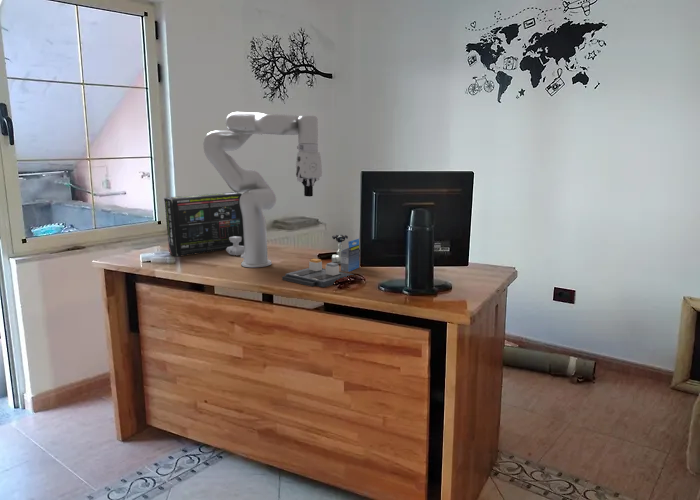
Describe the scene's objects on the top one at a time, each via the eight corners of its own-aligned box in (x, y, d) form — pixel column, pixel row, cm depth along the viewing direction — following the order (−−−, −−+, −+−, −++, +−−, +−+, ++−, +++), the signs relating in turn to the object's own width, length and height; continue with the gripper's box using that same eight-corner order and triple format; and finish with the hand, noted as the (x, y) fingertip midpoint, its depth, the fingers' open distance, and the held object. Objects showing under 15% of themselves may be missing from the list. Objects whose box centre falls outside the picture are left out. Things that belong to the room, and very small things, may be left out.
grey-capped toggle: (325, 274, 209) (325, 263, 208) (331, 272, 211) (331, 262, 210) (333, 275, 206) (333, 265, 205) (339, 274, 208) (339, 263, 207)
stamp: (234, 257, 252) (233, 238, 250) (224, 255, 256) (223, 237, 254) (248, 253, 259) (247, 236, 258) (238, 252, 263) (237, 234, 261)
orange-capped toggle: (309, 269, 216) (309, 259, 215) (314, 268, 218) (314, 258, 217) (316, 271, 213) (316, 260, 213) (322, 269, 216) (321, 259, 215)
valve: (346, 266, 232) (346, 237, 229) (331, 265, 233) (330, 237, 231) (349, 262, 238) (349, 234, 236) (334, 262, 239) (334, 234, 237)
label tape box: (351, 266, 230) (351, 237, 228) (360, 267, 228) (360, 238, 226) (340, 271, 223) (339, 240, 220) (349, 272, 220) (348, 241, 218)
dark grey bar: (282, 279, 210) (282, 276, 210) (284, 279, 211) (284, 275, 211) (312, 286, 200) (312, 283, 199) (315, 285, 201) (314, 282, 200)
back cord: (317, 271, 223) (317, 268, 222) (320, 270, 224) (320, 267, 223) (351, 278, 211) (351, 275, 211) (354, 277, 212) (354, 274, 212)
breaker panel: (285, 278, 211) (285, 273, 211) (311, 272, 221) (311, 266, 221) (323, 287, 198) (323, 281, 198) (349, 279, 208) (349, 274, 208)
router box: (236, 244, 284) (233, 191, 279) (246, 247, 275) (243, 193, 270) (166, 253, 263) (162, 196, 258) (175, 257, 254) (170, 198, 249)
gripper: (299, 149, 207) (300, 198, 211) (328, 148, 218) (328, 195, 221) (286, 148, 212) (287, 196, 216) (315, 148, 223) (316, 194, 227)
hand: (308, 196), depth 219 cm, fingers closed
